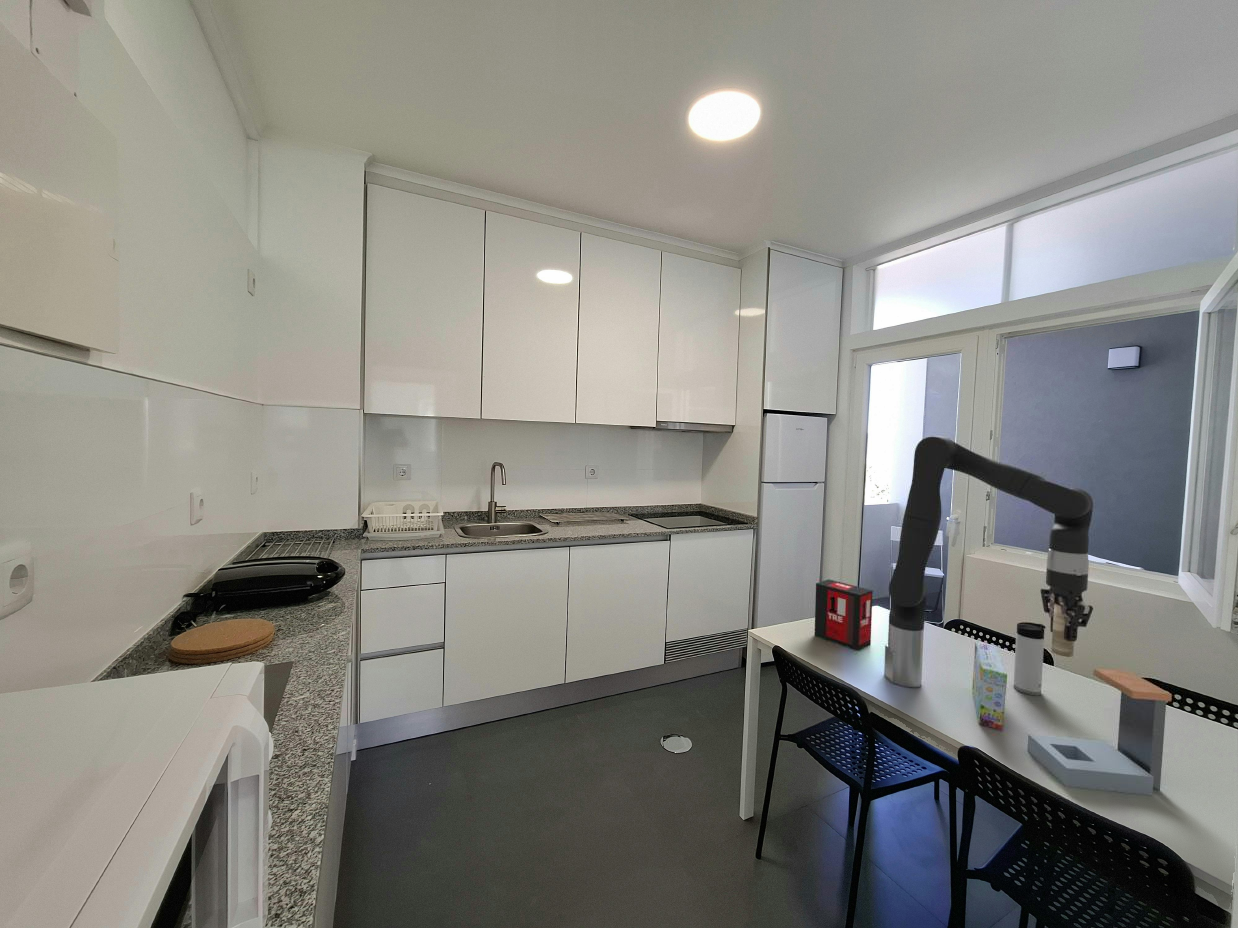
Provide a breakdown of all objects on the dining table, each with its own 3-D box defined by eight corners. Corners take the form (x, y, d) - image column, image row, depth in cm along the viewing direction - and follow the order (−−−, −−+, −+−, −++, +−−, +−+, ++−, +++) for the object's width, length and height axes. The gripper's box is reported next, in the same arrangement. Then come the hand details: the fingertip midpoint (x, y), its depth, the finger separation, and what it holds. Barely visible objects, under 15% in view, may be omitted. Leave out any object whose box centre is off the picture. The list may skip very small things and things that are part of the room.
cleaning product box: (870, 644, 173) (872, 590, 172) (858, 651, 167) (860, 595, 166) (827, 629, 186) (828, 579, 185) (814, 635, 180) (816, 583, 179)
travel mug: (1047, 696, 138) (1051, 629, 137) (1021, 694, 140) (1025, 627, 139) (1033, 685, 144) (1037, 621, 143) (1008, 683, 146) (1012, 619, 145)
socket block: (1065, 785, 103) (1066, 767, 102) (1027, 749, 114) (1028, 733, 114) (1152, 795, 100) (1153, 776, 100) (1104, 757, 112) (1105, 740, 112)
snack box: (1005, 732, 122) (1008, 674, 121) (978, 724, 125) (980, 668, 124) (994, 694, 140) (997, 643, 139) (970, 689, 143) (973, 639, 142)
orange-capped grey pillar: (1126, 789, 102) (1132, 691, 101) (1088, 758, 112) (1093, 668, 110) (1164, 793, 101) (1171, 694, 99) (1122, 761, 110) (1128, 671, 109)
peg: (1059, 656, 118) (1062, 608, 117) (1047, 649, 122) (1050, 602, 121) (1077, 657, 117) (1080, 609, 117) (1065, 650, 121) (1067, 603, 121)
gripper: (1030, 560, 126) (1026, 624, 127) (1072, 576, 112) (1068, 648, 113) (1062, 562, 125) (1058, 626, 126) (1109, 577, 111) (1104, 650, 112)
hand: (1063, 636), depth 119 cm, fingers closed on peg, 4 cm apart
